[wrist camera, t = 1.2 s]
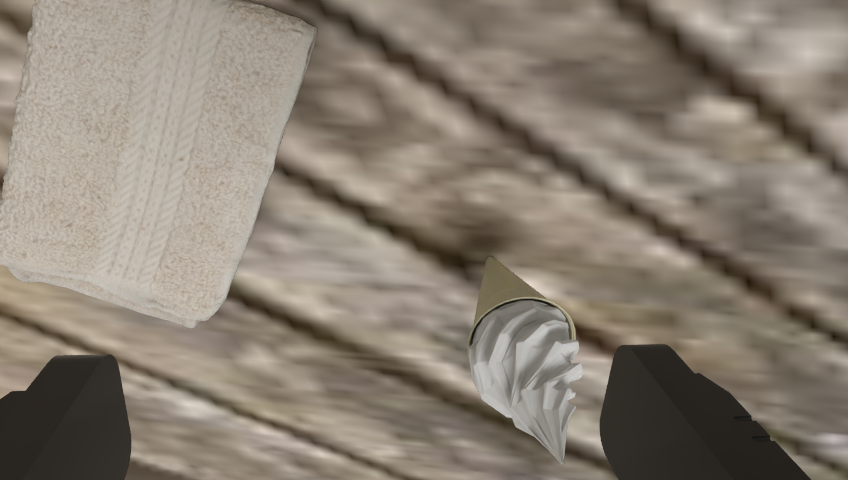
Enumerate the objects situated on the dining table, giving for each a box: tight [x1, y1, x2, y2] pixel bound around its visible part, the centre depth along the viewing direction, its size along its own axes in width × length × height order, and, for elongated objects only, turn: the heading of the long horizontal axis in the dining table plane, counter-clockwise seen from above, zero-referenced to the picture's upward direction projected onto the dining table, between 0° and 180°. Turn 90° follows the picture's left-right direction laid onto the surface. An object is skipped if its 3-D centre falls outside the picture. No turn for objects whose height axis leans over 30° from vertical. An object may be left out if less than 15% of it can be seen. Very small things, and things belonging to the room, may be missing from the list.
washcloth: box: [0, 0, 317, 328], centre depth 29 cm, size 12×18×3 cm, turn 157°
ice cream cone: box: [467, 257, 583, 465], centre depth 27 cm, size 5×5×15 cm
